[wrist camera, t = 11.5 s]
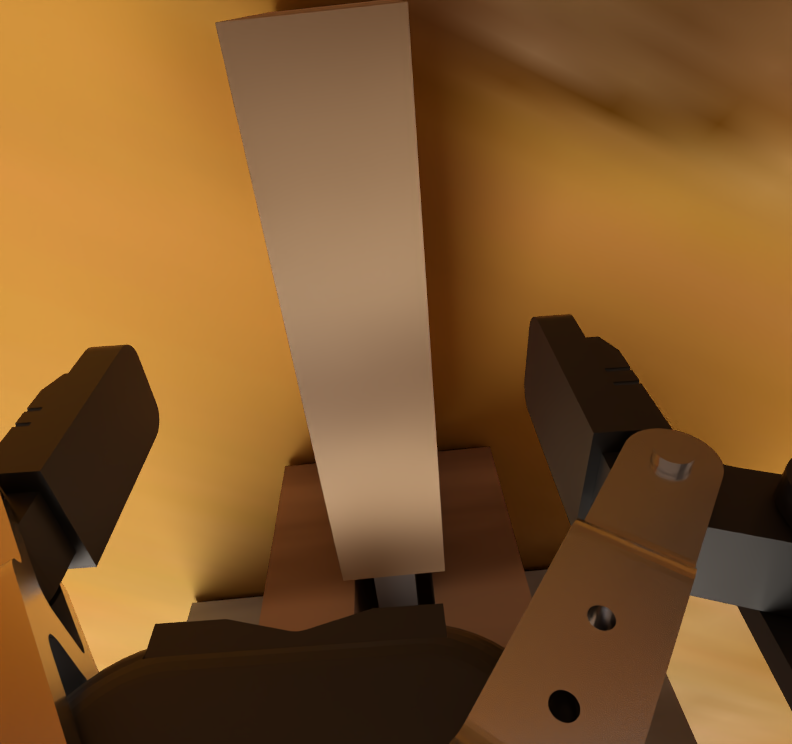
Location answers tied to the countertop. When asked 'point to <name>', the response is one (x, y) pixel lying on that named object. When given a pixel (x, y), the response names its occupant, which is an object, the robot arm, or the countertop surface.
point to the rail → (349, 267)
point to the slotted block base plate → (455, 587)
